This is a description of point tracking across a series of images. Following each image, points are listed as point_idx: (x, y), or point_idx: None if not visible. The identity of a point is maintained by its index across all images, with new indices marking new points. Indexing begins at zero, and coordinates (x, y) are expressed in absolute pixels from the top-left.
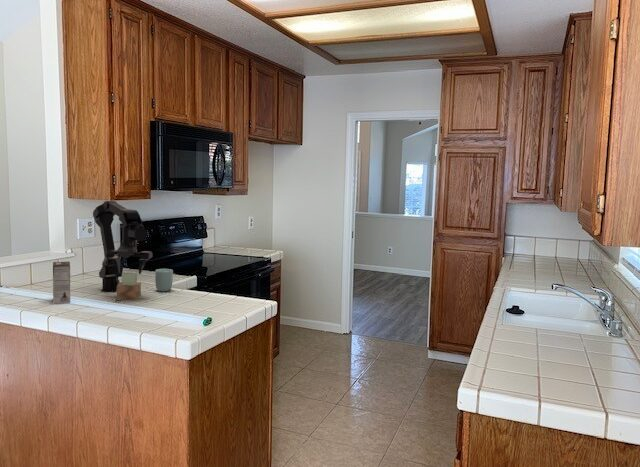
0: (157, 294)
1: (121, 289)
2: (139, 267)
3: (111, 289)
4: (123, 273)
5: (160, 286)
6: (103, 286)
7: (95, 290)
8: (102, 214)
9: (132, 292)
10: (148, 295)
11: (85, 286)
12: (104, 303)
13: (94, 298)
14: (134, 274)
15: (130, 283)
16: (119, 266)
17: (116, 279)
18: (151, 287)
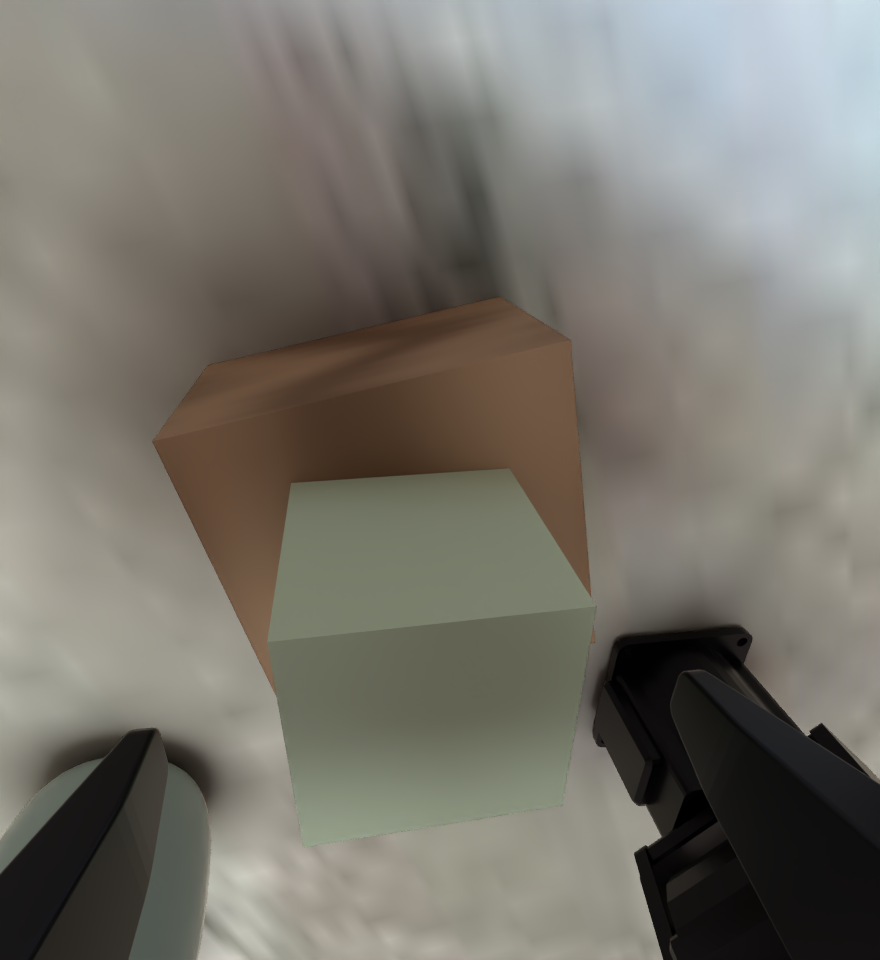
0: (109, 652)
1: (468, 346)
2: (12, 955)
3: (658, 660)
4: (571, 668)
5: None
6: (751, 684)
7: (792, 644)
8: None
9: (284, 375)
10: (191, 588)
11: (874, 733)
12: (609, 9)
13: (776, 322)
14: (278, 691)
15: (349, 498)
16: (782, 883)
17: (669, 784)
18: (329, 850)
